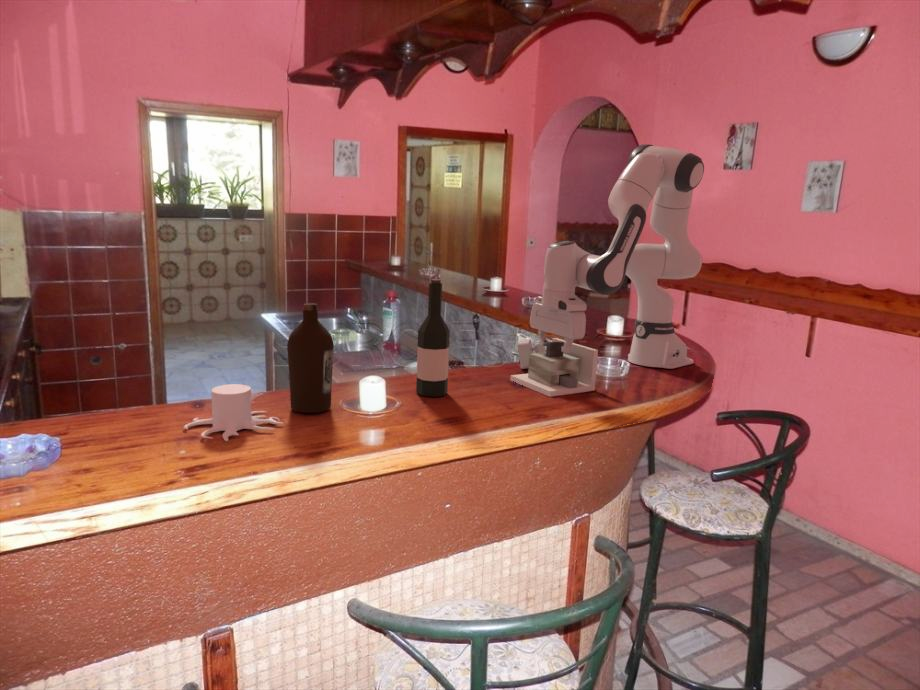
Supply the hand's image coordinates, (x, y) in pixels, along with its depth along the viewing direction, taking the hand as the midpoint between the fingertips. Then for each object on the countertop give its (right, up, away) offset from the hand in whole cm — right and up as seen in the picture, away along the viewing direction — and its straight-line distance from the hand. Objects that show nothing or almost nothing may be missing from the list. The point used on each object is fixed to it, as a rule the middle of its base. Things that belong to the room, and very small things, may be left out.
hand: (554, 349), depth 182 cm
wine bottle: (-34, -12, -10) cm, 37 cm away
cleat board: (0, -10, +2) cm, 10 cm away
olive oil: (-62, -14, -27) cm, 69 cm away
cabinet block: (0, -9, +2) cm, 9 cm away
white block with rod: (-2, -7, +20) cm, 21 cm away
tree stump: (-77, -16, -39) cm, 88 cm away
